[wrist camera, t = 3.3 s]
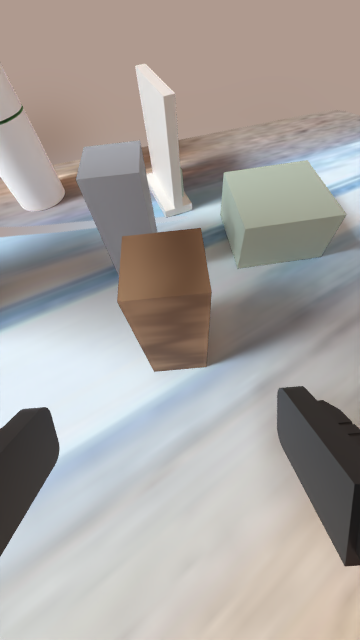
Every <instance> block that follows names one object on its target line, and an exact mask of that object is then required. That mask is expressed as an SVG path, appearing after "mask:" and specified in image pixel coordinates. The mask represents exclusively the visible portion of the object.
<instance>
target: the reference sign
mask: <svg viewBox="0 0 360 640" xmlns="http://www.w3.org/2000/svg"><path fill="white" fill-rule="evenodd" d="M135 68H136V74H137V80H138V86H139V92H140V98H141V104H142V110H143V116H144V122H145V128H146V134H147V141H148V147H149V153H150V159H151V165H152V171H153V172H152V173H149V174H146V175H147V180H148V186H149V188H150V190H151V192H152V194H153V195H154V197H155V199H156V201H157V203H158V204H159V206H160V208H161V210H162V212H163V213H164V215H165V217H166V218H168V217H171V216H174V215H177V214H180V213H183V212H187V211H190V210H192V203H191V201H190V200H189V198H188V197H187V195H186V194H185V192H184V191H183V175H182V169H181V167H180V159H179V144H178V129H177V114H176V100H175V93H174V92H173V91H172V90H171V89H170V88H169V87H168V86H167V85H166V84H165V83H164V82H163V81H162V80H161V79H160V78H159V77H158V76H157V75H156V74H155V73H154V72H153V71H152V70H151V69H150V68H149V67H148V66H147V65H146V64H141V65H137V66H136V67H135Z"/></svg>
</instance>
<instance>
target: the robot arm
mask: <svg viewBox="0 0 360 640" xmlns="http://www.w3.org/2000/svg"><path fill="white" fill-rule="evenodd" d="M277 430H278V436H279V440H280V443H281V445H282V448H283V449H284V451H285V453H286V455H287V457H288V459H289V461H290V463H291V465H292V467H293V469H294V470H295V472H296V474H297V476H298V478H299V480H300V482H301V484H302V486H303V488H304V489H305V491H306V493H307V495H308V497H309V499H310V501H311V503H312V505H313V507H314V508H315V510H316V512H317V514H318V516H319V518H320V520H321V522H322V524H323V526H324V527H325V529H326V531H327V533H328V535H329V537H330V539H331V541H332V543H333V545H334V547H335V548H336V550H337V552H338V554H339V556H340V558H341V560H342V562H343V564H344V566H356V565H360V429H359V428H358V427H357V426H356V425H355V424H352V421H351V420H350V419H349V418H348V417H347V416H346V415H345V414H344V413H342V412H341V411H340V410H339V409H338V408H336V407H334V406H332V405H330V404H329V403H327V402H325V401H323V400H320V401H317V400H316V399H315V398H314V397H313V396H312V395H311V394H310V393H309V392H308V390H307V389H306V388H305V387H303V386H298V387H286V388H279V390H278V395H277ZM58 455H59V442H58V438H57V434H56V431H55V427H54V423H53V420H52V416H51V413H50V411H49V409H48V408H46V407H42V408H30V409H22V410H20V411H19V412H18V413H17V414H16V415H15V416H14V417H13V418H12V419H11V420H10V421H9V422H8V423H7V424H6V425H5V426H4V427H2V428H1V429H0V556H1V555H2V553H3V551H4V549H5V548H6V546H7V544H8V543H9V541H10V539H11V538H12V536H13V534H14V533H15V531H16V529H17V528H18V526H19V524H20V523H21V521H22V519H23V518H24V516H25V514H26V513H27V511H28V509H29V508H30V506H31V504H32V502H33V501H34V499H35V497H36V496H37V494H38V492H39V491H40V489H41V487H42V486H43V484H44V482H45V481H46V479H47V477H48V476H49V474H50V472H51V471H52V469H53V467H54V466H55V464H56V462H57V459H58Z"/></svg>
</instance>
